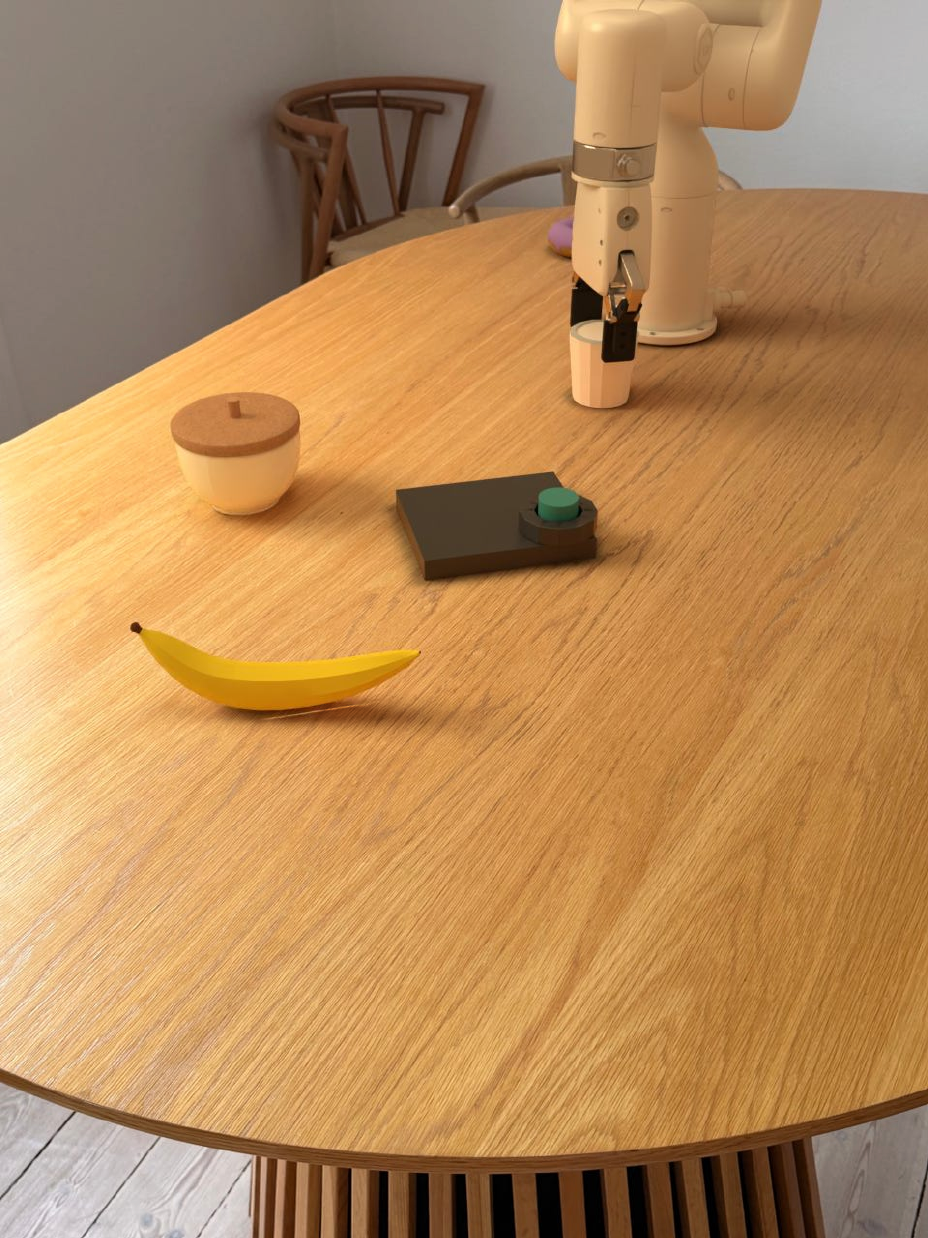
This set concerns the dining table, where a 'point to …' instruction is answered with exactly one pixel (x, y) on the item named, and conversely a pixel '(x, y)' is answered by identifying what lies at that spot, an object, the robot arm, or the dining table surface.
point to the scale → (491, 526)
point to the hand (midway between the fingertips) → (601, 343)
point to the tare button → (558, 504)
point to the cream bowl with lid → (238, 449)
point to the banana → (271, 674)
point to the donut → (562, 237)
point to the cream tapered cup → (597, 369)
